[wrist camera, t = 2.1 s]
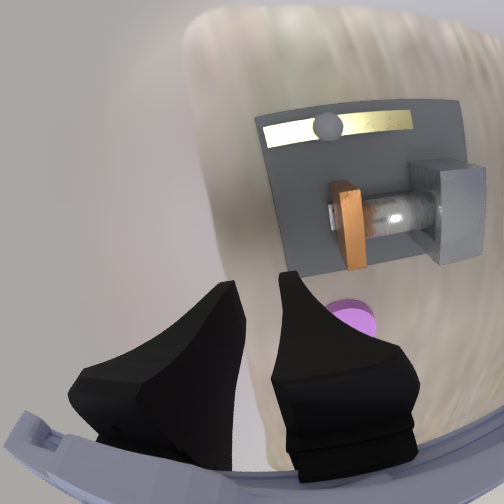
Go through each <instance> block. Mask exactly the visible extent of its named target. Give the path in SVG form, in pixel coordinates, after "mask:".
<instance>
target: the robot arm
mask: <svg viewBox="0 0 504 504" xmlns="http://www.w3.org/2000/svg"><path fill="white" fill-rule="evenodd" d="M278 281H279V287H280V294H281V300H282V309H283V315H282V328H281V336H280V343H279V349H278V354H277V358H276V362H275V366H274V370H273V373H272V376H271V382H272V385H273V388H274V391H275V395H276V398H277V401H278V404H279V407H280V411H281V414H282V417H283V420H284V423H285V426H286V452H287V453H289V455H290V458H291V461H292V463H293V466H294V469H295V470H292V471H275V472H236V471H232V429H233V411H234V400H235V390H236V384H237V378H238V374H239V369H240V364H241V359H242V355H243V350H244V344H245V337H246V317H245V314H244V311H243V308H242V304H241V301H240V298H239V294H238V291H237V288H236V285H235V281H234V280H232V281H226V282H220V283H219V284H217V285H216V286H215V287H214V288H213V289H212V290H211V291H210V292H209V293H208V294H207V295H205V296H204V297H203V298H202V299H201V300H200V301H199V302H198V303H197V304H196V305H195V306H194V307H193V308H192V309H191V310H189V311H188V312H187V313H186V314H185V315H184V316H183V317H181V318H180V319H179V320H178V321H177V322H175V323H174V324H173V325H171V326H170V327H169V328H167V329H166V330H164V331H163V332H162V333H160V334H159V335H157V336H156V337H154V338H152V339H151V340H149V341H147V342H146V343H144V344H142V345H140V346H139V347H137V348H135V349H133V350H131V351H129V352H127V353H125V354H123V355H120V356H118V357H116V358H113V359H111V360H108V361H106V362H103V363H100V364H97V365H94V366H91V367H88V368H84V369H83V370H82V372H81V373H80V375H79V376H78V378H77V379H76V381H75V382H74V384H73V385H72V387H71V388H70V390H69V392H68V398H69V401H70V403H71V405H72V407H73V408H74V409H75V410H76V412H77V413H78V414H79V415H80V416H81V417H82V418H83V419H84V420H85V421H86V422H87V423H88V424H89V425H90V426H91V427H92V428H93V429H94V430H95V431H96V432H97V433H98V434H99V435H98V437H97V440H96V442H94V441H91V440H88V439H85V438H82V437H80V436H75V435H64V434H61V433H59V432H56V431H54V430H52V429H51V428H50V427H49V426H48V425H47V424H46V423H45V422H44V421H43V420H42V419H41V418H39V417H38V416H36V415H34V414H32V413H30V412H28V411H24V413H23V414H22V416H21V418H20V419H19V421H18V422H17V424H16V425H15V427H14V429H13V430H12V432H11V434H10V435H9V437H8V439H7V440H6V442H5V444H4V446H3V448H4V449H5V450H6V451H7V452H8V453H9V454H10V455H12V456H13V457H14V458H15V459H16V460H18V461H19V462H20V463H21V464H23V465H24V466H25V467H27V468H28V469H29V470H31V471H32V472H33V473H35V474H36V475H38V476H39V477H40V478H42V479H43V480H45V481H46V482H48V483H49V484H51V485H53V486H54V487H56V488H57V489H59V490H61V491H62V492H64V493H66V494H68V495H69V496H71V497H73V498H75V499H77V500H79V501H80V502H82V504H468V503H470V502H472V501H473V500H475V499H477V498H479V497H480V496H482V495H484V494H486V493H487V492H489V491H491V490H492V489H494V488H496V487H497V486H499V485H500V484H502V483H503V482H504V405H503V406H501V407H500V408H498V409H496V410H495V411H493V412H491V413H489V414H487V415H486V416H484V417H482V418H480V419H478V420H476V421H474V422H472V423H470V424H468V425H466V426H464V427H462V428H459V429H457V430H455V431H453V432H450V433H448V434H446V435H443V436H441V437H438V438H436V439H433V440H431V441H428V442H425V443H422V444H420V445H417V444H416V440H415V436H414V433H413V428H414V420H413V417H412V414H411V412H412V410H413V407H414V405H415V402H416V399H417V397H418V394H419V389H420V382H419V379H418V376H417V373H416V371H415V369H414V367H413V365H412V364H411V362H410V361H409V359H408V358H407V356H406V355H405V353H404V352H403V350H402V349H401V348H400V346H398V345H395V344H391V343H388V342H385V341H382V340H379V339H376V338H374V337H371V336H369V335H367V334H365V333H363V332H360V331H358V330H356V329H355V328H353V327H351V326H350V325H348V324H346V323H344V322H343V321H342V320H340V319H339V318H337V317H336V316H335V315H333V314H332V313H331V312H330V311H329V310H327V309H326V308H325V307H324V306H323V305H322V304H321V303H320V302H319V301H318V300H317V299H316V298H315V297H314V296H313V295H312V293H311V292H310V291H309V290H308V288H307V287H306V286H305V284H304V283H303V281H302V280H301V278H300V276H299V274H298V272H297V271H295V270H293V271H288V272H282V273H280V274H279V279H278Z"/></svg>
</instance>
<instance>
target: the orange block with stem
mask: <svg viewBox="0 0 504 504" xmlns="http://www.w3.org/2000/svg"><path fill="white" fill-rule="evenodd" d="M330 187H331V194H332V200H333V207H334V214H335V221H336V229H337V237H338V246H339V253H340V255H341V257H342V259H343V261H344V263H345V265H346V268H347V270H348V271H350V270H355V269H360V268H366V267H367V265H366V246H365V239H369V238H374V237H380V236H385V235H391V234H396V233H402V232H407V231H412V230H418V229H423V228H428V227H433V226H435V225H436V200H435V198H434V196H433V195H432V193H430V192H429V191H425V192H418V193H411V194H404V195H397V196H390V197H383V198H377V199H371V200H364V201H361V193H360V189H359V188H357V187H356V186H354V185H353V184H352V183H350V182H349V181H343V182H337V183H331V184H330Z"/></svg>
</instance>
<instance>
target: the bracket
mask: <svg viewBox="0 0 504 504" xmlns="http://www.w3.org/2000/svg"><path fill="white" fill-rule="evenodd" d="M325 308H326V309H327V310H329V311H330V312H331V313H332V314H333V315H335V316H336V317H337V318H339V319H340V320H342V321H343V322H344V323H346V324H348V325H350V326H351V327H353V328H355V329H356V330H358V331H360V332H363V333H365V334H367V335H369V336H371V337H374V336H375V333H376V322H375V319H374V317H373V315H372V312H371V310H370V309H369V308H368V306H366V305H365V304H364V303H362V302H359V301H356V300H342V301H338V302H335V303H332V304H330V305H328V306H327V307H325Z"/></svg>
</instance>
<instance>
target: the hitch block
mask: <svg viewBox="0 0 504 504" xmlns="http://www.w3.org/2000/svg"><path fill="white" fill-rule="evenodd" d="M407 167H408V177H409V189H410V190H404V191H397V192H390V193H383V194H377V195H370V196H364V197H361V201H364V200H371V199H377V198H383V197H390V196H397V195H404V194H411V193H418V192H425V191H429V192H430V193H432V195H433V196H434V198H435V200H436V225H435V226H433V227H428V228H423V229H418V230H412V231H411V239H412V240H413V241H414V242H415V243H416V244H417V245H418V246H419V247H420V248H421V249H422V250H423V251H425V252H426V253H427V254H428V255H429V256H430V257H431V258H432V259H433V260H434V261H435V262H436V263H437V264H438V265H439V266H441V265H445V264H449V263H453V262H457V261H460V260H464V259H468V258H472V257H475V256H479V255H482V248H483V239H484V228H485V212H486V168H485V167H482V166H478V165H475V164H471V163H468V162H464V161H460V160H456V159H452V158H439V159H426V160H415V161H407ZM326 205H327V212H328V218H329V225H330V229H331V230H337V229H336V221H335V214H334V207H333V202H327V203H326Z"/></svg>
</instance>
